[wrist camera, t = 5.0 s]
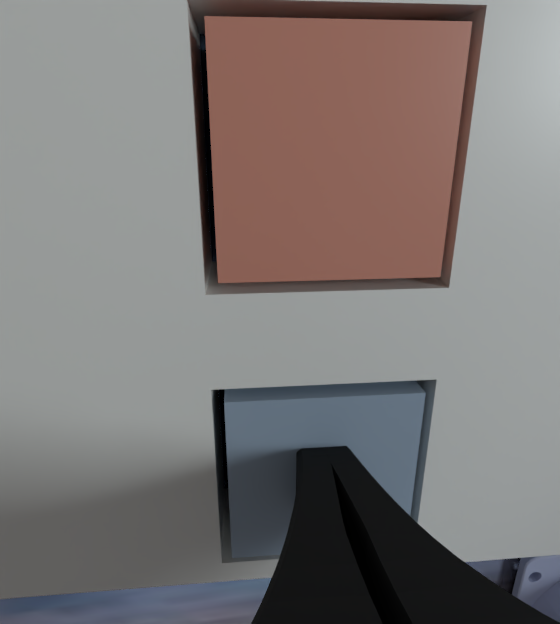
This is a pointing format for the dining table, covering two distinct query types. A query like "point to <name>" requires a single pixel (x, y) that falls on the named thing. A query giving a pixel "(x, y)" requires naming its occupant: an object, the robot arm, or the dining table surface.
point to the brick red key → (333, 145)
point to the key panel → (252, 300)
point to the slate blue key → (312, 434)
